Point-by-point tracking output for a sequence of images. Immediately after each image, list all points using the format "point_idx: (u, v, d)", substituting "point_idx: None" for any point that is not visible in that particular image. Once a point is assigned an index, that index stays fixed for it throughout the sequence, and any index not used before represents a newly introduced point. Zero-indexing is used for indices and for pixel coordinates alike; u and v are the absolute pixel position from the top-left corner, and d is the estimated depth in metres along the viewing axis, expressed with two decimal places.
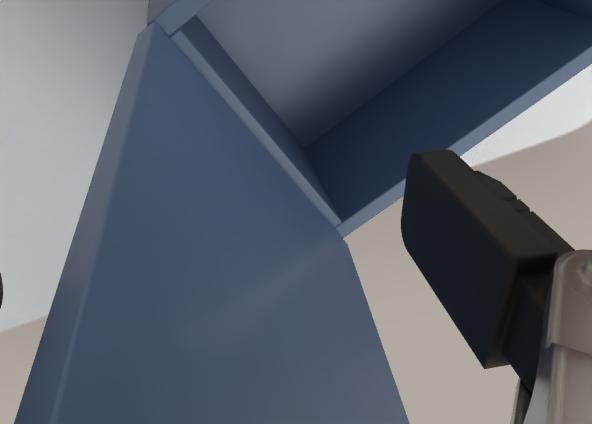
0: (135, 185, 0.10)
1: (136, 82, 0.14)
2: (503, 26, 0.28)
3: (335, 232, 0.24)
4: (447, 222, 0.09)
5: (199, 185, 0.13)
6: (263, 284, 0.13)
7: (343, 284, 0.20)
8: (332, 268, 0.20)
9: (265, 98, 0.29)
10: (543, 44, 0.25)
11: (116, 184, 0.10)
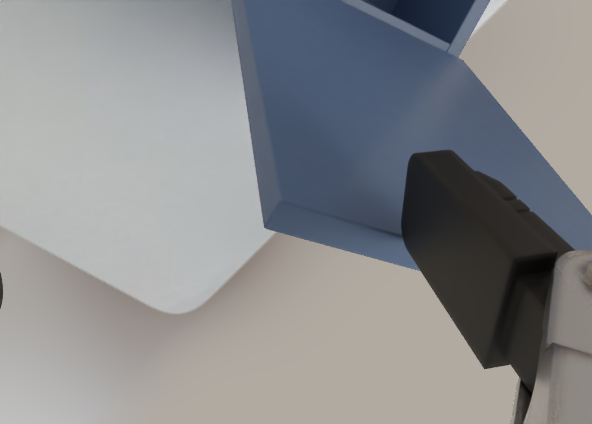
0: (267, 56, 0.15)
1: None
2: None
3: (447, 54, 0.27)
4: (447, 222, 0.09)
5: (311, 46, 0.18)
6: (384, 96, 0.18)
7: (464, 88, 0.23)
8: (449, 79, 0.23)
9: None
10: None
11: (256, 58, 0.15)
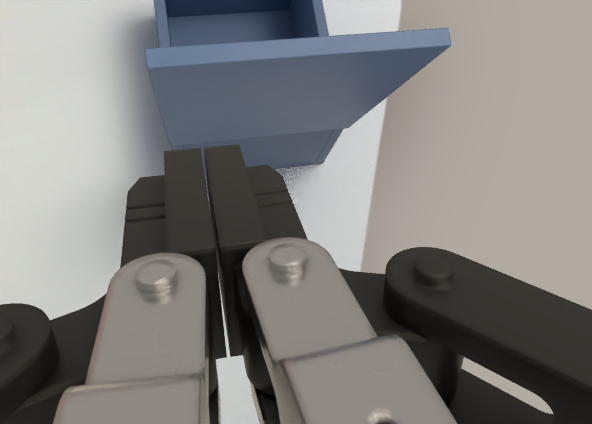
0: None
1: None
2: (296, 14, 0.47)
3: None
4: (212, 214, 0.09)
5: None
6: None
7: None
8: None
9: None
10: None
11: None
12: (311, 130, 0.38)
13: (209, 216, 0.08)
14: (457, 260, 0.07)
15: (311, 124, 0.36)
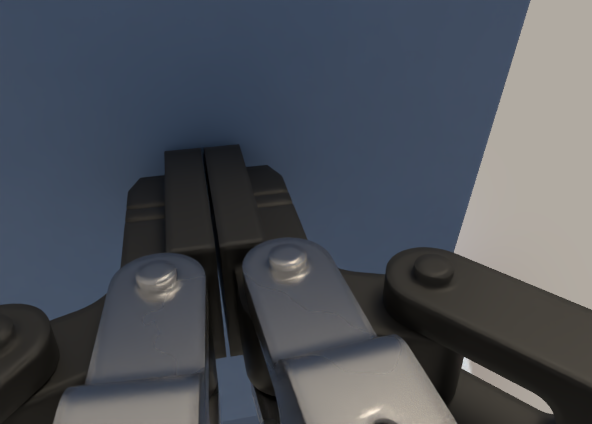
0: None
1: None
2: None
3: None
4: (212, 214, 0.09)
5: None
6: None
7: None
8: None
9: None
10: None
11: None
12: None
13: (209, 216, 0.08)
14: (457, 260, 0.07)
15: None
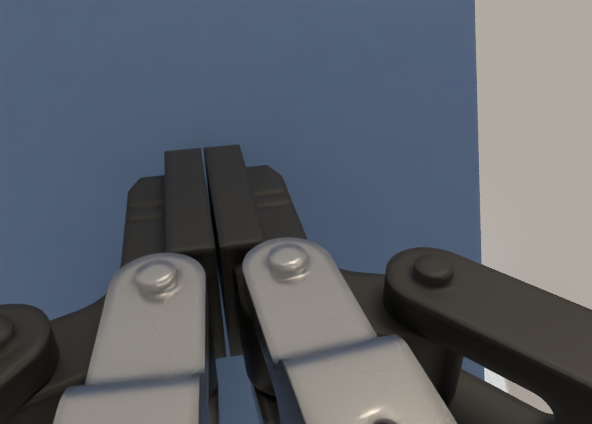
0: None
1: None
2: None
3: None
4: (212, 214, 0.09)
5: None
6: None
7: None
8: None
9: None
10: None
11: None
12: None
13: (209, 216, 0.08)
14: (457, 261, 0.07)
15: None
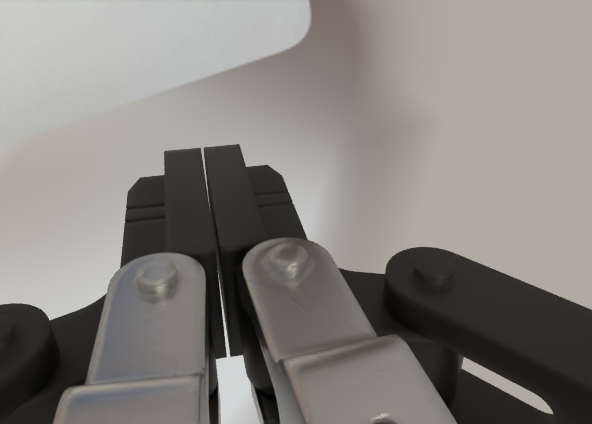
0: None
1: None
2: None
3: None
4: (212, 214, 0.09)
5: None
6: None
7: None
8: None
9: None
10: None
11: None
12: None
13: (209, 216, 0.08)
14: (457, 261, 0.07)
15: None
